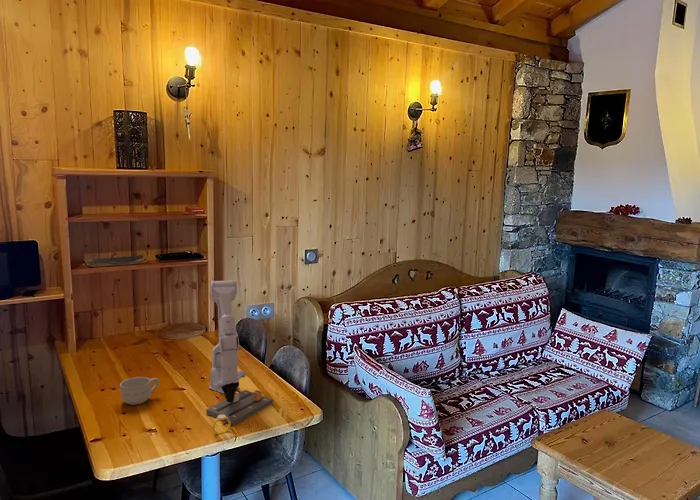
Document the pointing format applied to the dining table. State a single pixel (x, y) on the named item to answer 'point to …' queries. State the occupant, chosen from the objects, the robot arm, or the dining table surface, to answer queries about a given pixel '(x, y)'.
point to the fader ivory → (236, 397)
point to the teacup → (137, 389)
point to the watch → (221, 417)
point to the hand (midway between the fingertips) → (229, 401)
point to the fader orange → (257, 395)
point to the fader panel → (239, 407)
